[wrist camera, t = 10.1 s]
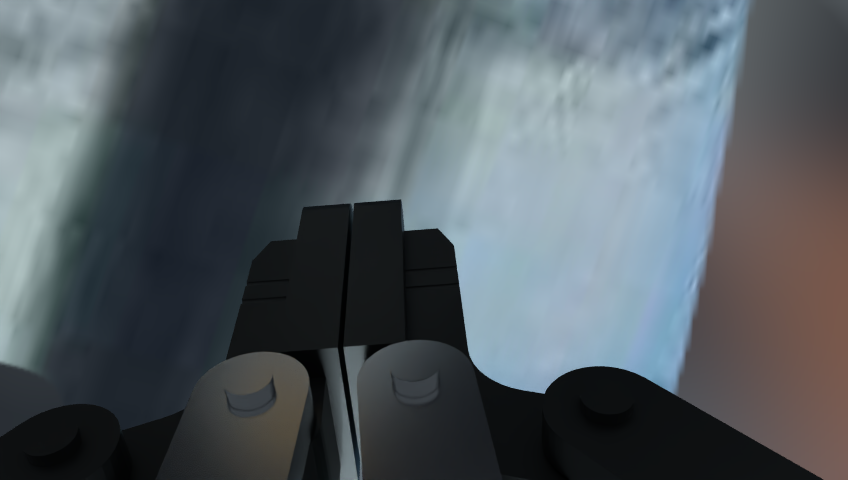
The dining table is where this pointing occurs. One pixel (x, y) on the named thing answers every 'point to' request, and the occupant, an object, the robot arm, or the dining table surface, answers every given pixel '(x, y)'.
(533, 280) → the dining table surface
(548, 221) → the dining table surface
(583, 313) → the dining table surface
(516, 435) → the robot arm
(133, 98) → the dining table surface
